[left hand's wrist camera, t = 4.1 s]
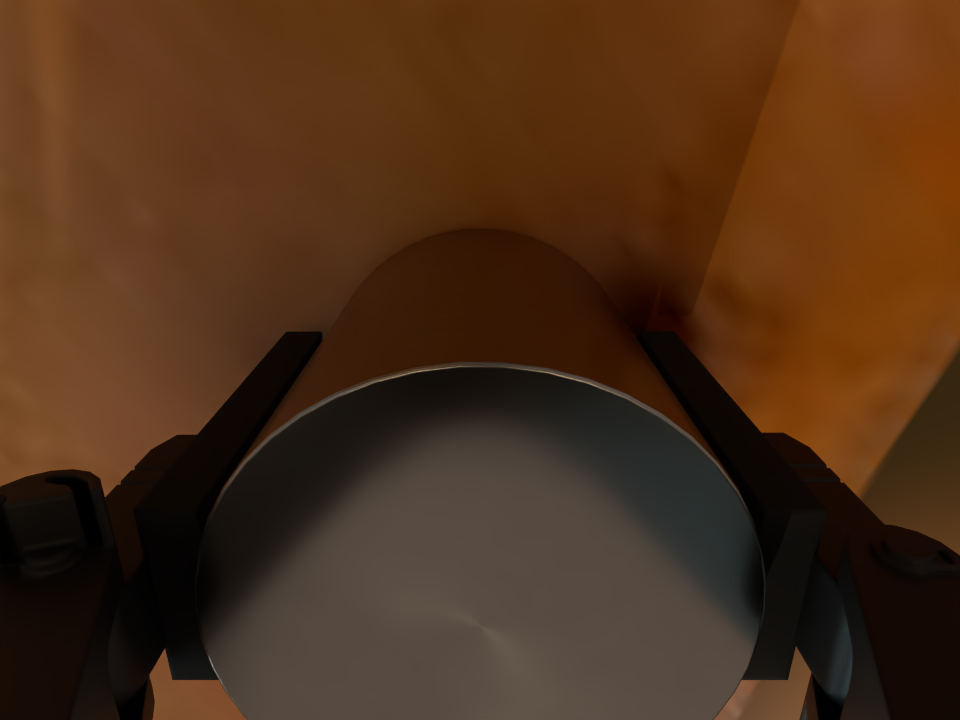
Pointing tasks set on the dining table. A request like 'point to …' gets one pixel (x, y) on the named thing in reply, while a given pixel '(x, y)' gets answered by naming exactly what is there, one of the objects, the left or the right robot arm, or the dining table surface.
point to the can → (480, 513)
